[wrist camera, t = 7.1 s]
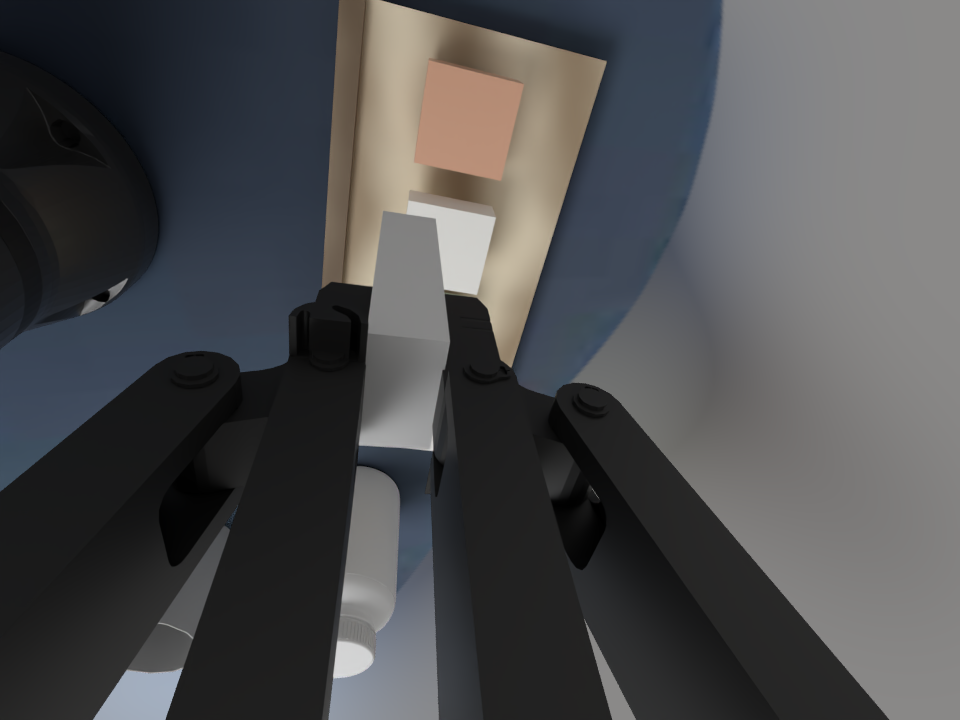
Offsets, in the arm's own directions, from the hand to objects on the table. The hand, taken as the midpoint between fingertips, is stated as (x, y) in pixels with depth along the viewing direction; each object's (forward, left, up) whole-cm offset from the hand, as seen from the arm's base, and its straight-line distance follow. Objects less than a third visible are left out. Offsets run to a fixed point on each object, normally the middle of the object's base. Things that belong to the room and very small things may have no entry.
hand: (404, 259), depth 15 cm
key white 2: (+2, -5, -15) cm, 16 cm away
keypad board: (+2, -8, -19) cm, 21 cm away
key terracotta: (+2, +2, -16) cm, 16 cm away
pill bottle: (-1, -32, -19) cm, 37 cm away
